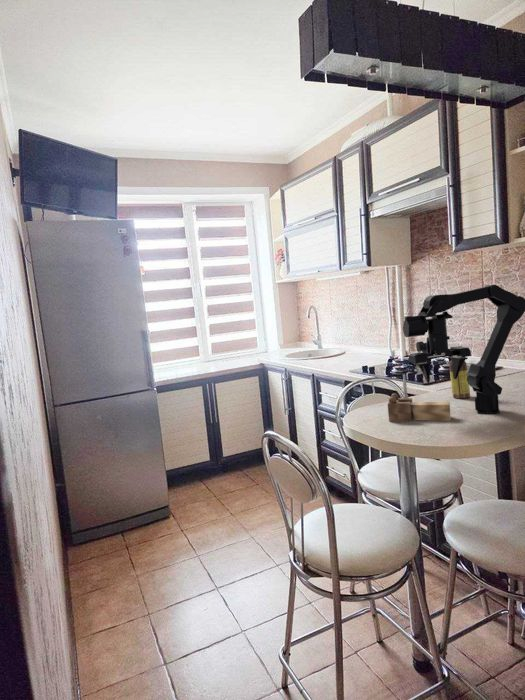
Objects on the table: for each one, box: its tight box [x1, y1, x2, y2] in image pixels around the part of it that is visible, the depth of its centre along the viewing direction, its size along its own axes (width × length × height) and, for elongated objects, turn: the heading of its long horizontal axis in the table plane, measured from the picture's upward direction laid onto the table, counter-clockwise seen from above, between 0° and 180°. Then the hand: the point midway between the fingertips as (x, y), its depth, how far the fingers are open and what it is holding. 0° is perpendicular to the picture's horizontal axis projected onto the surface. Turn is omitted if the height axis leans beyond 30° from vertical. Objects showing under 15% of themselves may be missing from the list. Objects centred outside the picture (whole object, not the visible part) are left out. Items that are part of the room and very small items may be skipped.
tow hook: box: [402, 373, 409, 398], centre depth 161 cm, size 8×13×9 cm
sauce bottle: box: [448, 345, 471, 399], centre depth 166 cm, size 6×6×20 cm
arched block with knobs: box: [387, 392, 413, 422], centre depth 146 cm, size 7×8×8 cm
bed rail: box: [411, 401, 451, 421], centre depth 143 cm, size 14×4×5 cm, turn 66°
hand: (441, 380), depth 143 cm, fingers open, 9 cm apart
